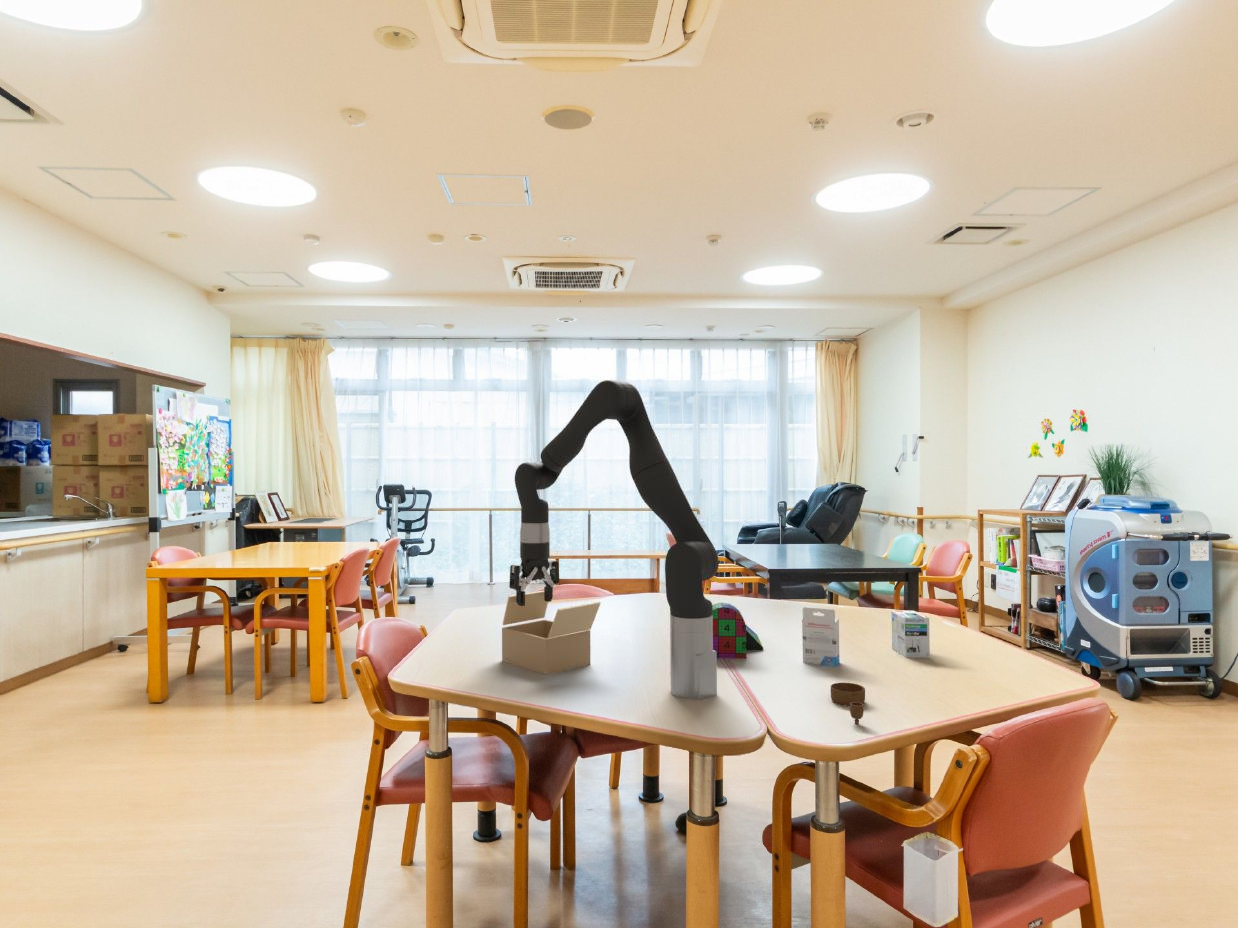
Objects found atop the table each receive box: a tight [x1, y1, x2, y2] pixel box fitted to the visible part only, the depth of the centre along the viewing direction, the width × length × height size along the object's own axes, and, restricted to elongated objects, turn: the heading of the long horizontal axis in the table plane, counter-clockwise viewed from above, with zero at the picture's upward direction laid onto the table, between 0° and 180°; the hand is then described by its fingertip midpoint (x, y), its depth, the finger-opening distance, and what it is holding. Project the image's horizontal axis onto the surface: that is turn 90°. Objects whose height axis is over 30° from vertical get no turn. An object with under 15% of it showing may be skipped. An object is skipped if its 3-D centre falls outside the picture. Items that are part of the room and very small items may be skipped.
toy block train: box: [712, 602, 764, 659], centre depth 204 cm, size 25×17×14 cm
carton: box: [501, 619, 591, 675], centre depth 185 cm, size 18×14×10 cm
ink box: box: [801, 606, 840, 667], centre depth 187 cm, size 9×5×15 cm, turn 62°
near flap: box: [548, 601, 601, 638], centre depth 177 cm, size 8×13×1 cm
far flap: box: [502, 590, 549, 626], centre depth 191 cm, size 8×13×1 cm
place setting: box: [830, 682, 866, 726], centre depth 151 cm, size 18×20×6 cm
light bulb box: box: [890, 609, 931, 659], centre depth 198 cm, size 11×7×11 cm, turn 179°
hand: (534, 603), depth 188 cm, fingers open, 8 cm apart
